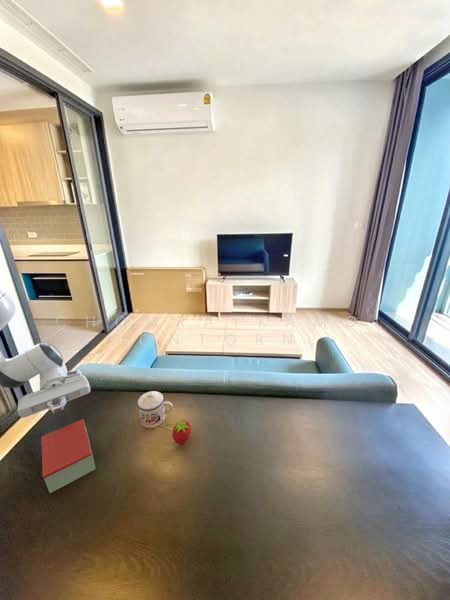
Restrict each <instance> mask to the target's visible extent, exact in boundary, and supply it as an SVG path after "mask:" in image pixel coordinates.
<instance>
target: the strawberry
mask: <svg viewBox="0 0 450 600" xmlns="http://www.w3.org/2000/svg"><path fill="white" fill-rule="evenodd" d="M191 434H192V426H191V423H190V421H188V420H186V419H181V420H179V421H176V424H174V425H173V428H172V439H173V440H174V442H175V443H176V444H177V445H179V446H183V445H184V444H186V443H187V441H189V440H190V437H191Z"/></svg>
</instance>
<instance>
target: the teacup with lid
mask: <svg viewBox="0 0 450 600" xmlns="http://www.w3.org/2000/svg"><path fill="white" fill-rule="evenodd" d="M164 400H165V398H164V395H163V394H162V393H161V392H160V391H156V390H152V391H148V392H145V393H143V394H142V395H141V396H140V397H139V398H138V399H137V407H138V410H139V411H138V412H139V417H140V423H141V425H142V426H143V427H145V428H147V429H153V428H154V429H155V428H156V427H159V426H160V425H162V424H163V423H164V421H165V419H166V415H167V414H170V413H171V412H172V411H173V403H172V402H171V401H164ZM165 405H166V406H169V407H170V408H169V409H167V410H165Z"/></svg>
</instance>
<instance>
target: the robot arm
mask: <svg viewBox="0 0 450 600" xmlns="http://www.w3.org/2000/svg"><path fill="white" fill-rule="evenodd" d="M15 312H16V304H15V302H14V300H13V299H12V297H11V296H10V295H9V294H8V292H7V291H6V290H5V289H4V288H3V286H1V285H0V332H1V331H2V330H3V329H4V328H5V327H6V326H7V325H8V324H9V323H10V321H12V318H13V317H14V316H15ZM38 375H39V390H36V391H33V392H30V393H27V394H25V395H23V396H22V397H21V398H19V399H18V401H17V410H16V411H17V414H18V416H19V417H20V418H27V417H29V416H33V415H35V414H38V413H41V412H44V411H46V410H49V411H51V412H52V414H56V413H58V412H61V411H63V410H64V408H65V406H66V404H67V402H70V401H72V400H75V399H78V398H81V397H82V396H83V397H84V396H85V395H89V394H90V392H91V385H90V382H89V381H88V378H87V377H86V376H85V375H83V373H82V371H81V370H73V371H68V368H67V366H66V364H65V361H64V358H63V356H62V354H61V352H60V350H59V349H58V348H57V347H55V346H54V345H53V344H51V343H46V342H40V343H37V344H35V345H33V346H31V347H29V348H27V349H26V350H24V351H23V352H21V353H19V354H17V355H15V356H13V357H10V358H6V357H5V356H4V354H3V353H2V351H1V350H0V386H1V387H2V388H5V389H18V388H19V387H21V386H23V385H24V384H25V383H27V382H28V381H30V380H31V379H33V378H35V377H37V376H38Z"/></svg>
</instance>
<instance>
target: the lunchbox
mask: <svg viewBox="0 0 450 600" xmlns="http://www.w3.org/2000/svg"><path fill="white" fill-rule="evenodd" d="M84 424H85V425H86V423H85V422H84ZM85 428H86V432H87V436H88V441H89V445H90V449H91V454H92V455H90V456H88V457H86V458H84V459H82V460H80V461H78V462H76V463H74V464H72V465H70V466H68V467H66V468H64V469H62V470H60V471H58V472H56V473H54V474H52V475H50V476H48V477H46V478H44V479H43V480H44V482H45V485H46V487H47V490H48V493H49V494H52V493H53V492H55V491H57V490H59V489H61V488H63V487H65V486H67V485H68V484H71V483H72V482H75V481H77V480H78V479H80V478H83V476H86V475H87V474H89V473H91V472H93V471H95V470H96V464H95V460H94V455H93V451H92V447H91V443H90V438H89V434H88V430H87V427H86V426H85Z"/></svg>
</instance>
